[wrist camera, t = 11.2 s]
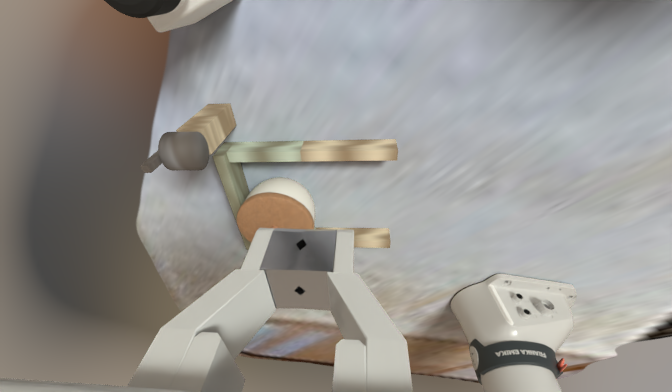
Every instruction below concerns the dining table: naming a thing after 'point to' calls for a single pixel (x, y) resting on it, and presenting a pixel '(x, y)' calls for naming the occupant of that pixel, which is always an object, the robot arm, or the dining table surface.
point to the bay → (298, 151)
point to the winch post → (193, 140)
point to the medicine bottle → (168, 11)
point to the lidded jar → (276, 207)
